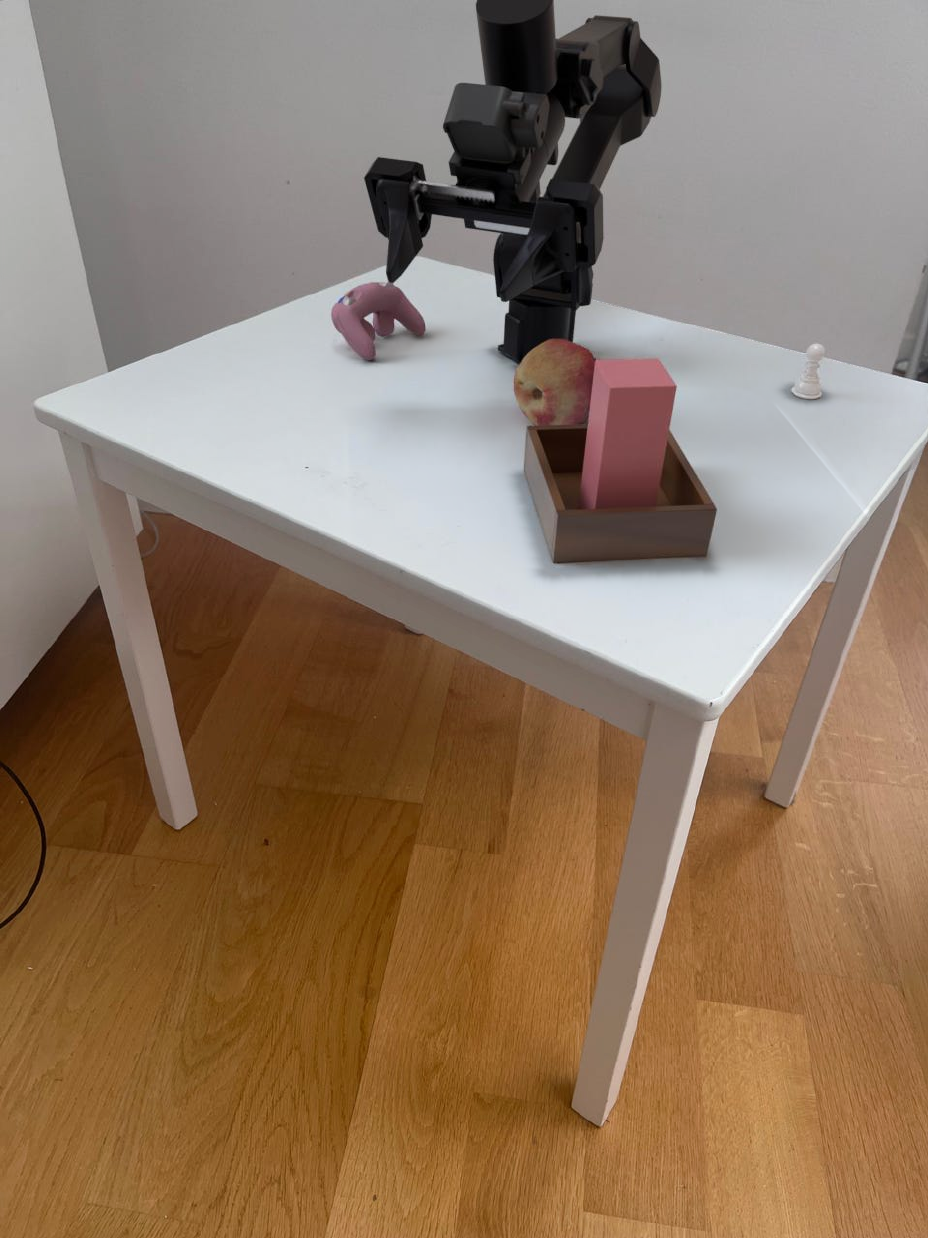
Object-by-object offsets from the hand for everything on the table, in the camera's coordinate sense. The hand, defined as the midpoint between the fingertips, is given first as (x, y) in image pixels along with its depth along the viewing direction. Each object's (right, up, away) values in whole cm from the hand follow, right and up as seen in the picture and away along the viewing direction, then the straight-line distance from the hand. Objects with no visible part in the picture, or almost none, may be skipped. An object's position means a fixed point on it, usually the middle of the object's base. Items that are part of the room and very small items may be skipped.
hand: (444, 287), depth 70 cm
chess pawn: (+35, -3, +22) cm, 42 cm away
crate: (+13, -17, +3) cm, 21 cm away
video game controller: (-8, +4, +30) cm, 31 cm away
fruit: (+10, -8, +15) cm, 20 cm away
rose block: (+13, -17, +2) cm, 22 cm away
